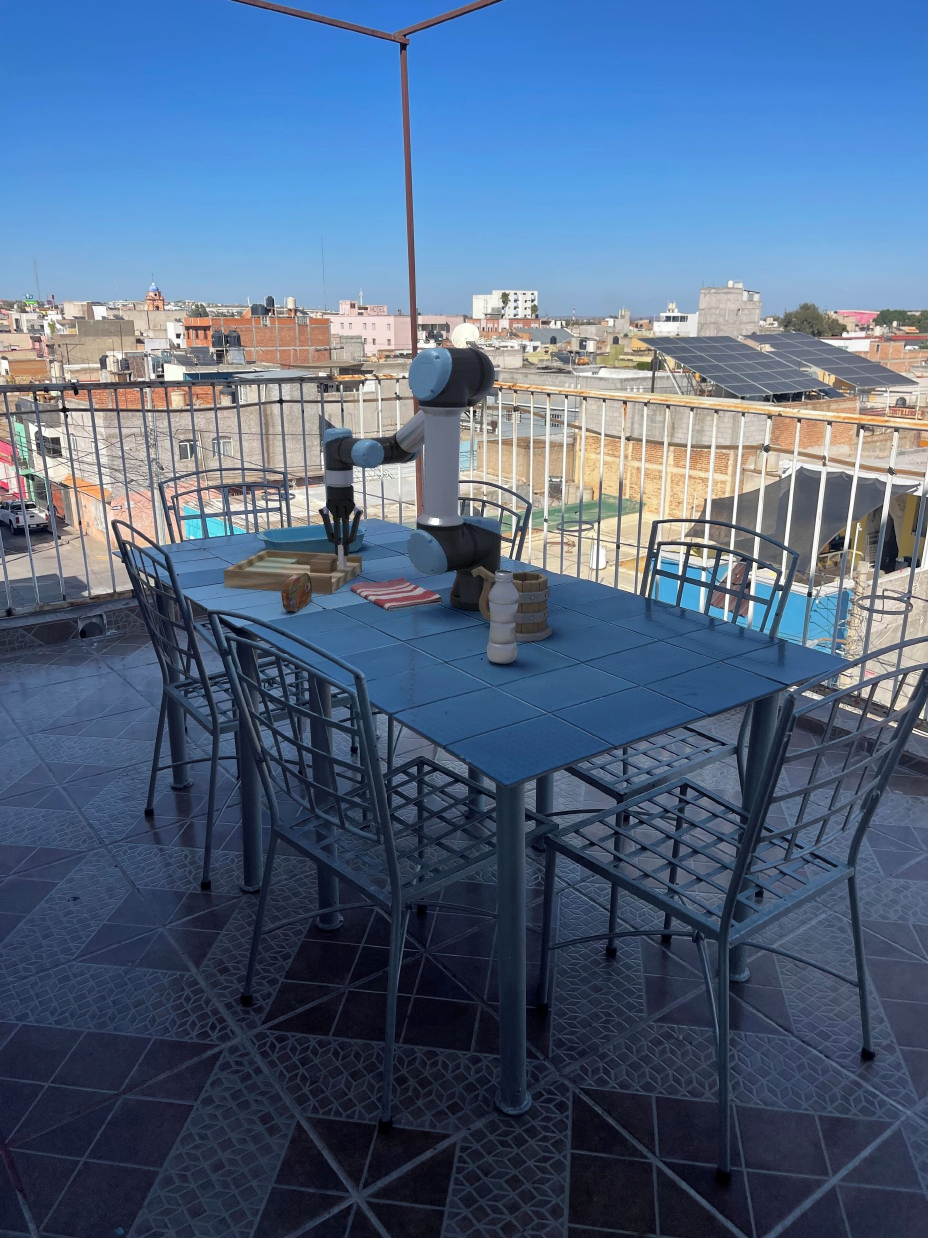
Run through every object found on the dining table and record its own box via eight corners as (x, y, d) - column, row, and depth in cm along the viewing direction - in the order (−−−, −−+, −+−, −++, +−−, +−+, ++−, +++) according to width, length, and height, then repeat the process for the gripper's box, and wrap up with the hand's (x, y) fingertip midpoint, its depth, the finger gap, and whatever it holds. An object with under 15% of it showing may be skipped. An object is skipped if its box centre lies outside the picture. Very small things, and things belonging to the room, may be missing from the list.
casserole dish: (266, 563, 268) (265, 541, 266) (251, 549, 288) (250, 528, 286) (376, 553, 284) (376, 532, 281) (355, 540, 303) (355, 521, 301)
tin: (291, 615, 214) (290, 583, 212) (280, 615, 215) (278, 582, 212) (313, 600, 228) (312, 569, 226) (302, 599, 229) (301, 568, 226)
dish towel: (403, 584, 246) (402, 575, 245) (444, 604, 227) (444, 594, 226) (349, 592, 238) (349, 583, 237) (387, 613, 219) (387, 603, 218)
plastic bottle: (498, 654, 187) (500, 566, 181) (523, 661, 183) (526, 571, 177) (480, 662, 182) (481, 571, 177) (505, 669, 178) (507, 577, 172)
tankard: (558, 630, 204) (560, 570, 200) (534, 645, 194) (537, 581, 189) (485, 617, 214) (486, 559, 209) (459, 631, 203) (460, 570, 199)
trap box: (330, 594, 233) (329, 576, 232) (224, 587, 240) (223, 570, 238) (362, 571, 259) (361, 555, 257) (265, 565, 265) (264, 549, 263)
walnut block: (329, 573, 243) (329, 562, 242) (310, 572, 244) (309, 560, 243) (337, 569, 249) (336, 557, 248) (317, 567, 250) (317, 556, 249)
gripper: (366, 483, 240) (368, 565, 247) (323, 481, 243) (326, 562, 250) (357, 487, 233) (359, 571, 240) (313, 485, 236) (316, 568, 243)
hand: (342, 566), depth 245 cm, fingers closed
